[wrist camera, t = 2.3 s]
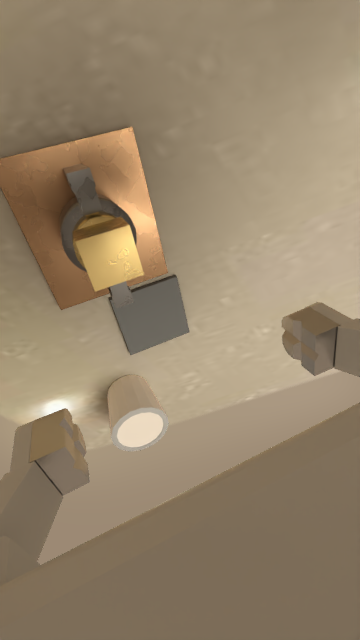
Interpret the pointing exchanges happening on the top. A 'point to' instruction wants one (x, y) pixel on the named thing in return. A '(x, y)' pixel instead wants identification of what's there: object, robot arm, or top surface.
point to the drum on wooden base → (81, 208)
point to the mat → (152, 315)
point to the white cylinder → (135, 414)
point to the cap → (106, 249)
